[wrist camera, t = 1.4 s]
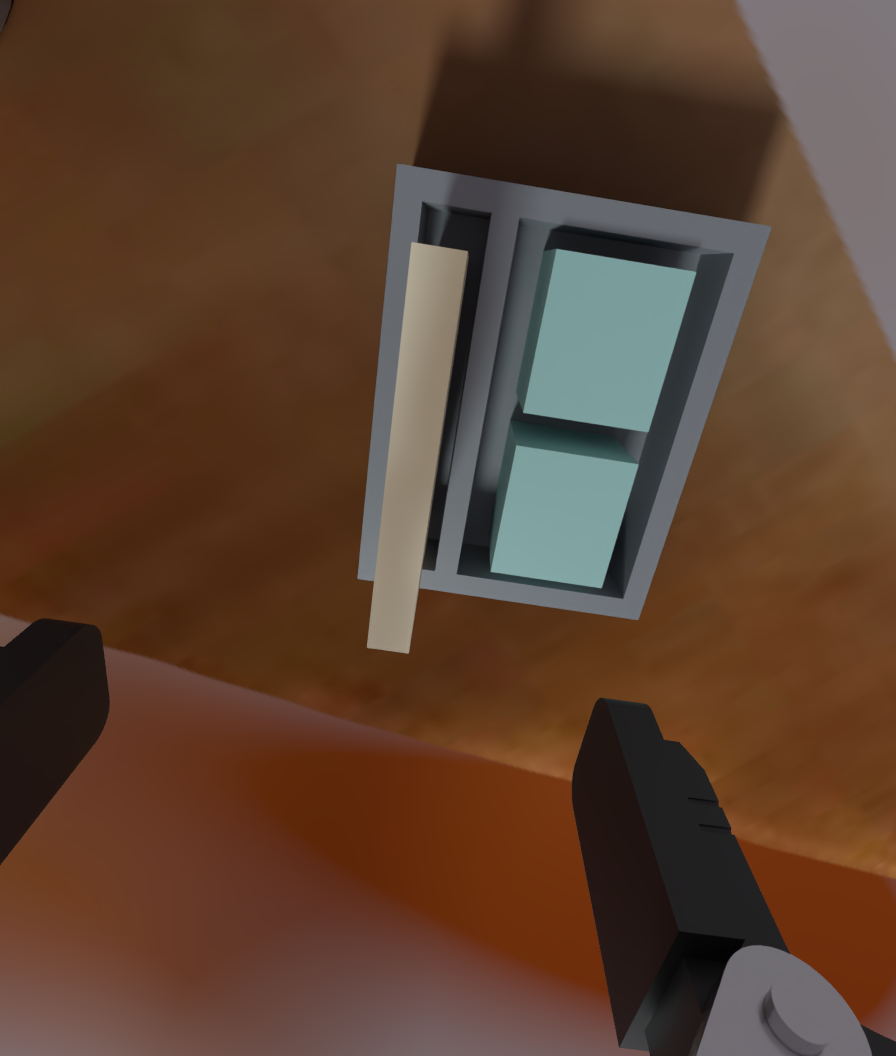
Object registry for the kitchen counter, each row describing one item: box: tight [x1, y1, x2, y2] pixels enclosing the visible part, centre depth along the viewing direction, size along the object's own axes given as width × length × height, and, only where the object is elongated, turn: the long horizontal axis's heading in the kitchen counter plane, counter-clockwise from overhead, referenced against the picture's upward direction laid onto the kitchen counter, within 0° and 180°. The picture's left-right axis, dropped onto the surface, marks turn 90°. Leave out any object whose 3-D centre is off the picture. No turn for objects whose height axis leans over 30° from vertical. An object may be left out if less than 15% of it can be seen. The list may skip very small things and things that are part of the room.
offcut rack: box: [358, 164, 772, 620], centre depth 31 cm, size 16×20×5 cm
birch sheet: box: [367, 242, 469, 653], centre depth 26 cm, size 2×14×14 cm, turn 172°
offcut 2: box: [488, 420, 639, 588], centre depth 32 cm, size 6×7×5 cm
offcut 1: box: [516, 249, 696, 432], centre depth 28 cm, size 6×7×5 cm
